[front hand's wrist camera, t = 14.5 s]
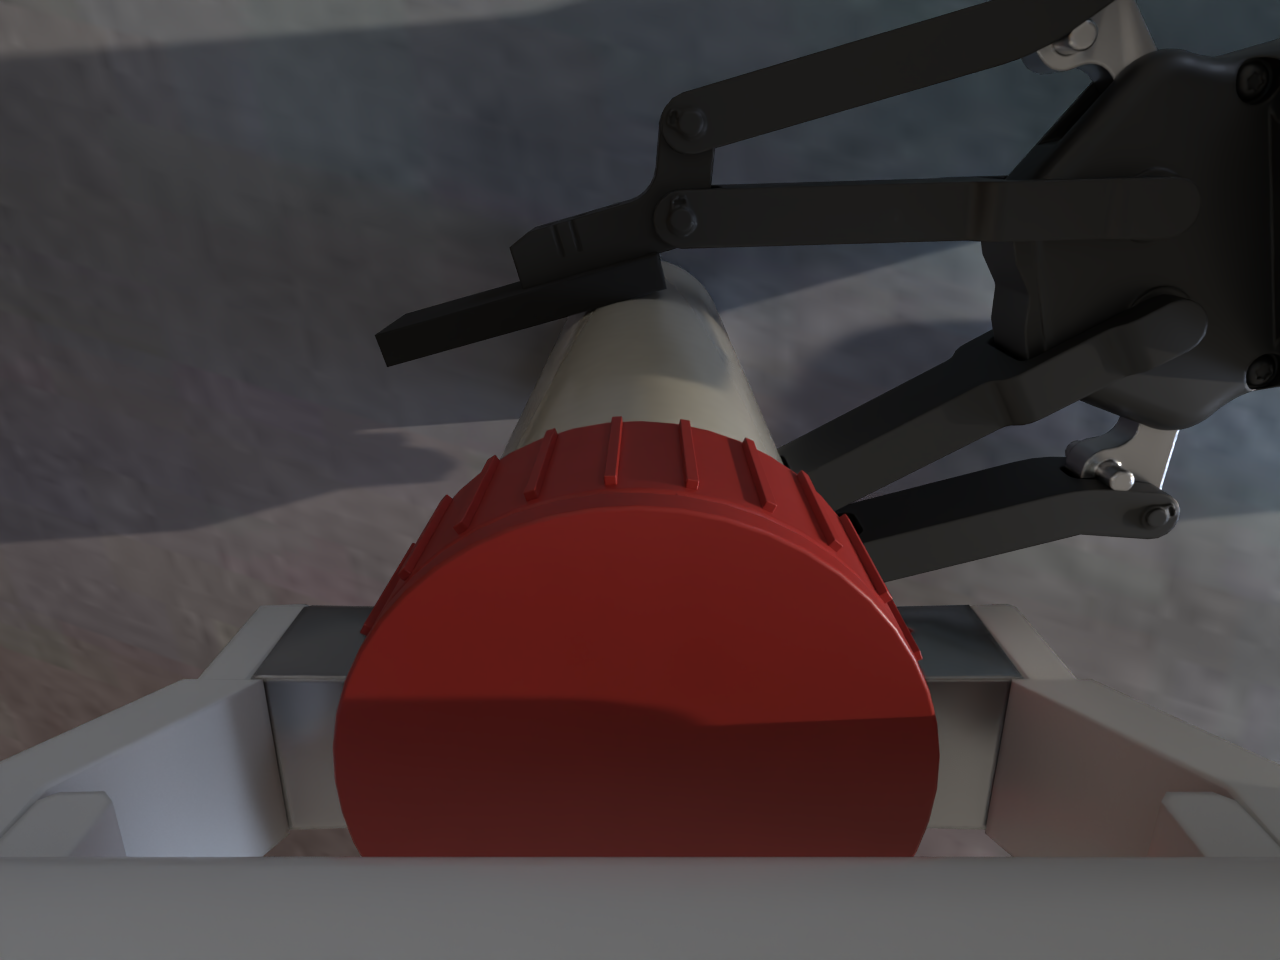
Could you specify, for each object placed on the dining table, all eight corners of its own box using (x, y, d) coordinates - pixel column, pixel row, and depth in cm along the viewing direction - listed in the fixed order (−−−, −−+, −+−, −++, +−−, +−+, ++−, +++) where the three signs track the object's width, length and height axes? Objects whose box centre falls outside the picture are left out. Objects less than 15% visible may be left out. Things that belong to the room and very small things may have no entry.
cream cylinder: (750, 311, 27) (983, 675, 8) (668, 436, 28) (708, 987, 10) (617, 227, 26) (541, 423, 7) (540, 361, 27) (313, 806, 9)
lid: (695, 303, 9) (710, 355, 7) (971, 687, 10) (1061, 838, 8) (294, 598, 10) (191, 731, 8) (596, 901, 12) (584, 1084, 9)
